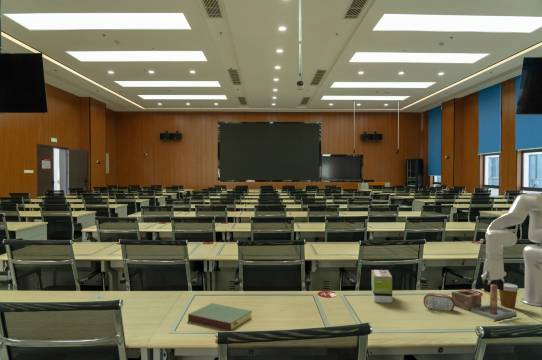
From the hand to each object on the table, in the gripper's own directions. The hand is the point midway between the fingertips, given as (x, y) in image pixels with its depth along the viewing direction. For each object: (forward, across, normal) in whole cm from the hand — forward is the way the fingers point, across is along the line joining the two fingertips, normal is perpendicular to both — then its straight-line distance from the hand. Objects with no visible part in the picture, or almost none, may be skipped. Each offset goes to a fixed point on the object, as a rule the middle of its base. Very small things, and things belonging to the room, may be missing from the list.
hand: (493, 290), depth 204 cm
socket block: (+12, +4, -13) cm, 18 cm away
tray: (+12, 0, 0) cm, 12 cm away
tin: (+13, +20, -16) cm, 28 cm away
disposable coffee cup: (+12, -18, -4) cm, 22 cm away
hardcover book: (+13, +126, -52) cm, 136 cm away
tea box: (+13, +33, -45) cm, 57 cm away
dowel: (+11, 0, 0) cm, 11 cm away
